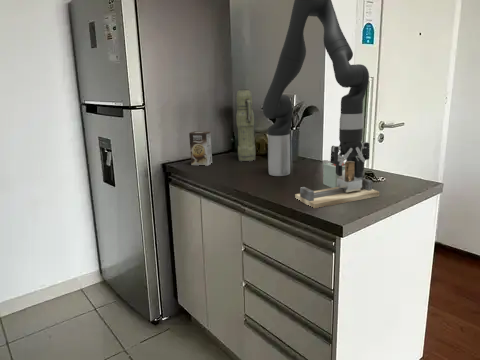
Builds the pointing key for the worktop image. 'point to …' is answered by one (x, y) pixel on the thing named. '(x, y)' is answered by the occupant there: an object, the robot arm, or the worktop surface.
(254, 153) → the thermos
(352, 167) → the carriage
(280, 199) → the worktop surface
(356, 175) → the supplement bottle
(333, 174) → the button box
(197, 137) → the coffee box
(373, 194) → the rail track
